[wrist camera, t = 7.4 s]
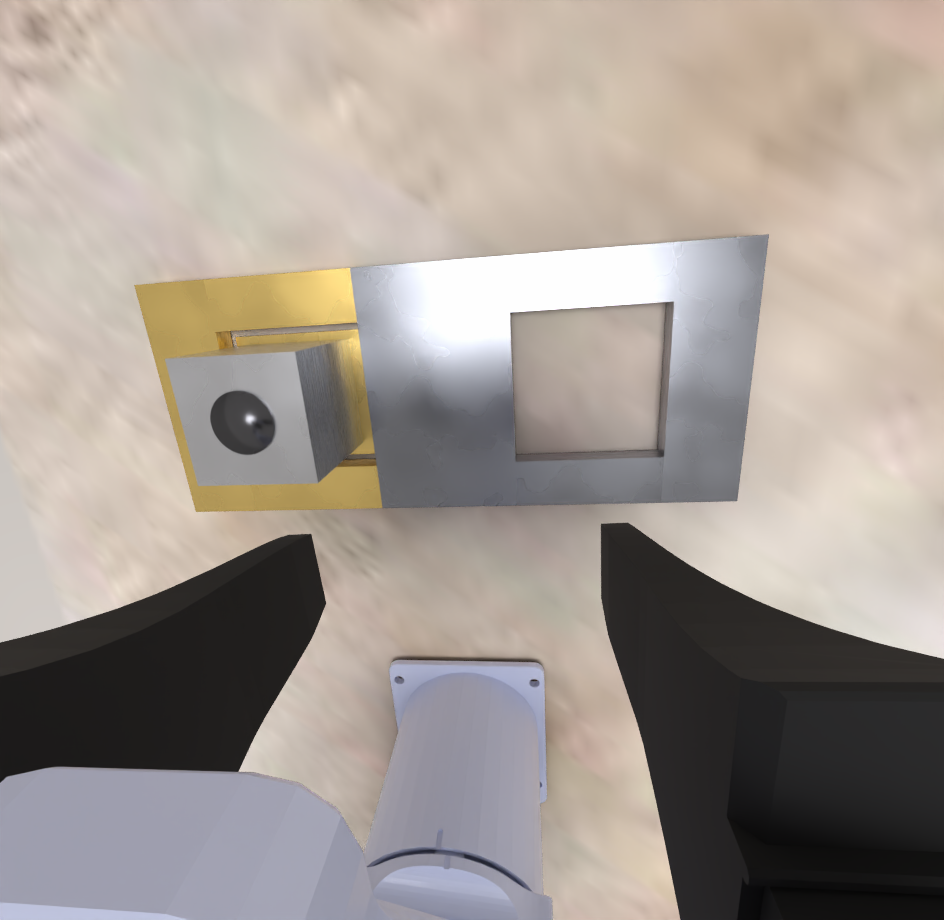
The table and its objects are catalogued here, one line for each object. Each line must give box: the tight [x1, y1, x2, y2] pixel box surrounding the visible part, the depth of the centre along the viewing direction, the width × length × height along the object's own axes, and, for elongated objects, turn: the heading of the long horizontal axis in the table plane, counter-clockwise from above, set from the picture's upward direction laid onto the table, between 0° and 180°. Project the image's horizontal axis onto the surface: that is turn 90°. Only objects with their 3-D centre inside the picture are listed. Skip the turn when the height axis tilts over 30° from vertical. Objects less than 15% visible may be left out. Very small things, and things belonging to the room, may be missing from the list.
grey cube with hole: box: [165, 339, 363, 486], centre depth 18 cm, size 4×4×5 cm
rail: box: [134, 235, 769, 512], centre depth 20 cm, size 10×24×1 cm, turn 94°
